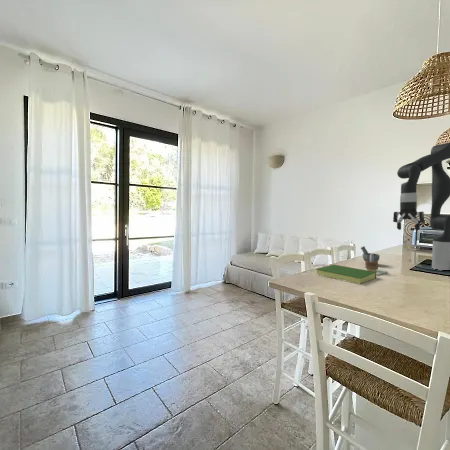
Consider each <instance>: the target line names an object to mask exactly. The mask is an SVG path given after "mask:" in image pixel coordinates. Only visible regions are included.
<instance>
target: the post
mask: <svg viewBox="0 0 450 450" xmlns="http://www.w3.org/2000/svg"><path fill="white" fill-rule="evenodd" d="M374 254H375V253H372V254H370V262H374ZM360 269H362V270H367V271H373V272H376V277H377V276H380V275H384V274H388V270H383V269H379V268H378V269H377V270H371V269H366V268H365V267H362V268H360Z"/></svg>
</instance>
